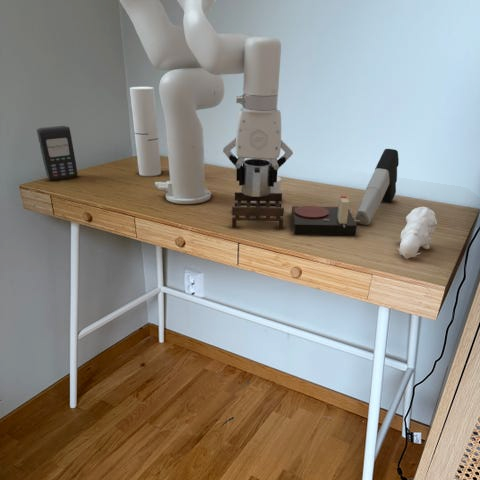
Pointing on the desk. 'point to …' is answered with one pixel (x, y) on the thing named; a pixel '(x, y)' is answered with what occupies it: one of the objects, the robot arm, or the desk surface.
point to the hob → (323, 224)
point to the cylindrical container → (145, 130)
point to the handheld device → (379, 186)
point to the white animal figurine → (417, 231)
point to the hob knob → (343, 210)
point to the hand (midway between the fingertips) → (256, 184)
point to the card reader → (57, 152)
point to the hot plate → (311, 211)
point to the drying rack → (257, 208)
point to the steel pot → (256, 177)
